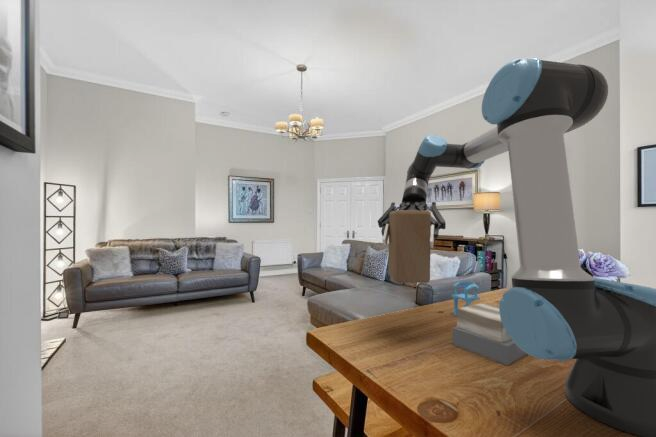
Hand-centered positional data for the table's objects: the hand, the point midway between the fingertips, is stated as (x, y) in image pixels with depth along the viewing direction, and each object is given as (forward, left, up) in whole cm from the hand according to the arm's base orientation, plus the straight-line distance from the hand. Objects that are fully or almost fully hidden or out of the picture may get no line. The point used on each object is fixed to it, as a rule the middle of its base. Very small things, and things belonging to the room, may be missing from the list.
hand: (407, 243), depth 82 cm
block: (+2, 0, -11) cm, 11 cm away
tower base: (+5, -22, -28) cm, 35 cm away
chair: (+32, -16, -27) cm, 45 cm away
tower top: (+5, -22, -23) cm, 32 cm away
